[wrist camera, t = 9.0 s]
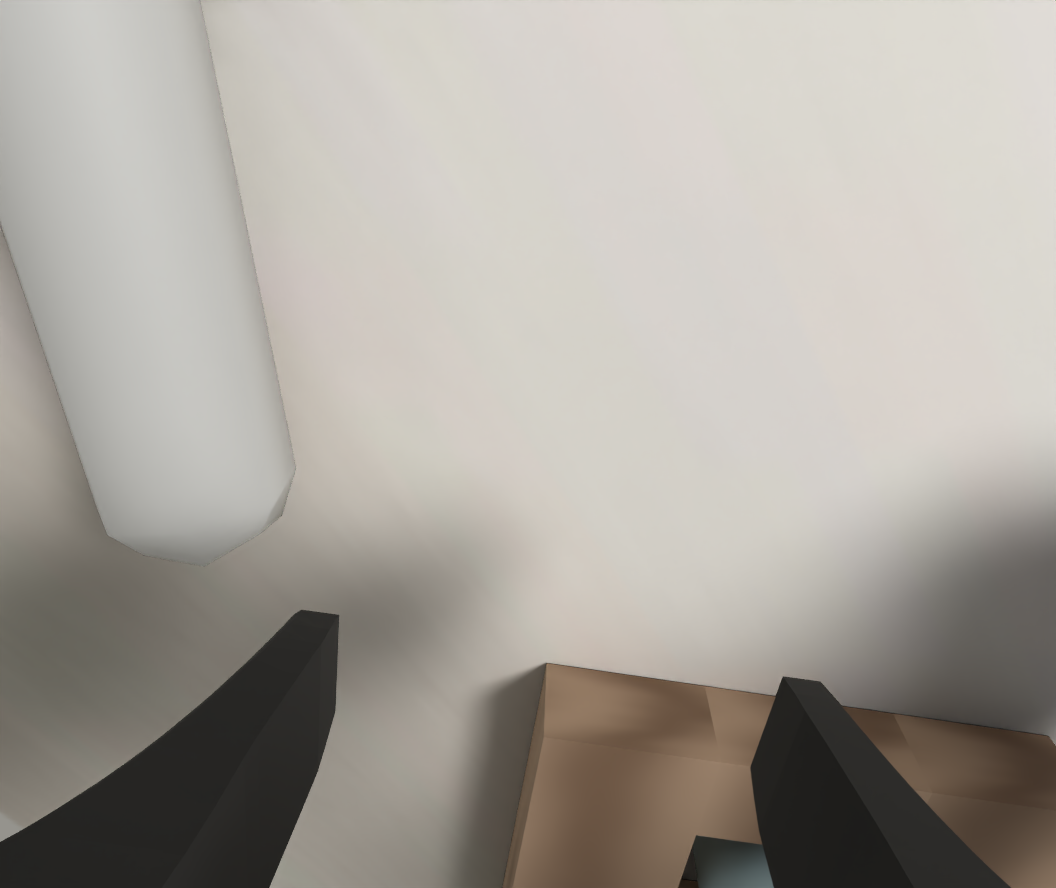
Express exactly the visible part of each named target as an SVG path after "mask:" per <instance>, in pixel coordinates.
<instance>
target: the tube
mask: <svg viewBox="0 0 1056 888" xmlns="http://www.w3.org/2000/svg"><path fill="white" fill-rule="evenodd" d="M0 225H1V228H2V231H3V234H4V237H5V240H6V243H7V246H8V249H9V251H10V254H11V257H12V260H13V263H14V266H15V269H16V272H17V275H18V278H19V281H20V284H21V287H22V290H23V293H24V296H25V299H26V302H27V305H28V307H29V310H30V313H31V316H32V319H33V322H34V325H35V328H36V331H37V334H38V337H39V340H40V343H41V346H42V349H43V352H44V355H45V358H46V361H47V363H48V366H49V369H50V372H51V375H52V378H53V381H54V384H55V387H56V390H57V393H58V396H59V399H60V402H61V405H62V408H63V411H64V414H65V417H66V420H67V422H68V425H69V428H70V431H71V434H72V437H73V440H74V443H75V446H76V449H77V452H78V455H79V458H80V461H81V464H82V467H83V470H84V473H85V476H86V478H87V481H88V484H89V487H90V490H91V493H92V496H93V499H94V502H95V505H96V507H97V510H98V512H99V515H100V517H101V520H102V523H103V525H104V528H105V530H106V533H107V535H108V536H110V537H112V538H114V539H115V540H117V541H119V542H121V543H122V544H124V545H126V546H128V547H130V548H131V549H133V550H135V551H137V552H139V553H140V554H142V555H144V556H149V557H155V558H160V559H166V560H171V561H177V562H182V563H188V564H193V565H199V566H204V567H205V566H206V565H208V564H210V563H211V562H213V561H215V560H216V559H218V558H220V557H222V556H223V555H225V554H227V553H228V552H230V551H232V550H233V549H235V548H237V547H238V546H240V545H242V544H244V543H245V542H247V541H249V540H250V539H252V538H254V537H255V536H257V535H259V534H260V533H262V532H263V531H264V530H265V529H266V528H268V527H269V526H270V525H271V524H272V523H273V522H275V521H276V520H277V519H278V518H279V517H281V516H282V513H283V510H284V507H285V503H286V500H287V497H288V493H289V490H290V487H291V484H292V480H293V477H294V474H295V470H296V464H295V460H294V455H293V450H292V445H291V440H290V435H289V430H288V425H287V420H286V416H285V411H284V406H283V401H282V396H281V391H280V386H279V381H278V377H277V372H276V367H275V362H274V357H273V352H272V347H271V342H270V337H269V333H268V328H267V323H266V318H265V313H264V308H263V303H262V298H261V294H260V289H259V284H258V279H257V274H256V269H255V264H254V259H253V254H252V250H251V245H250V240H249V235H248V230H247V225H246V220H245V215H244V211H243V206H242V201H241V196H240V191H239V186H238V181H237V176H236V171H235V167H234V162H233V157H232V152H231V147H230V142H229V137H228V132H227V128H226V123H225V118H224V113H223V108H222V103H221V98H220V93H219V88H218V84H217V79H216V74H215V69H214V64H213V59H212V54H211V49H210V45H209V40H208V35H207V30H206V25H205V20H204V15H203V10H202V5H201V1H200V0H0Z"/></svg>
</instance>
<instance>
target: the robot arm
mask: <svg viewBox="0 0 1056 888" xmlns="http://www.w3.org/2000/svg"><path fill="white" fill-rule="evenodd" d="M338 629H339V615H335V614H328V613H321V612H313V611H306V610H300V611H299V612H297V613H296V614H294V615H293V616H292V617H291V618H290V619H289V620H288V622H287V623H286V624H285V625H284V626H283V627H282V628H281V629H280V630H279V631H278V632H277V633H276V634H275V635H274V636H273V637H272V638H271V639H270V640H269V641H268V642H267V643H266V644H265V645H264V646H263V647H262V648H261V649H260V650H259V651H258V652H257V653H256V654H255V655H254V656H253V657H252V658H251V659H250V660H249V661H248V662H247V663H246V664H244V665H243V666H242V667H241V668H240V669H239V670H238V671H237V672H236V673H235V674H234V675H233V676H231V677H230V678H229V679H228V680H227V681H226V682H225V683H224V684H223V685H222V686H220V687H219V688H218V689H217V690H216V691H215V692H214V693H213V694H212V695H211V696H209V697H208V698H207V699H206V700H205V701H204V702H203V703H201V704H200V705H199V706H198V707H197V708H195V709H194V710H193V711H192V712H190V713H189V714H188V715H187V716H186V717H184V718H183V719H182V720H181V721H180V722H178V723H177V724H176V725H175V726H174V727H172V728H171V729H170V730H169V731H167V732H166V733H165V734H164V735H163V736H161V737H160V738H159V739H157V740H156V741H155V742H153V743H152V744H151V745H150V746H148V747H147V748H146V749H144V750H143V751H142V752H140V753H139V754H138V755H136V756H135V757H134V758H132V759H131V760H129V761H128V762H127V763H125V764H124V765H122V766H121V767H120V768H118V769H117V770H115V771H114V772H112V773H111V774H110V775H108V776H107V777H105V778H104V779H102V780H101V781H99V782H98V783H97V784H95V785H93V786H92V787H90V788H89V789H87V790H86V791H84V792H83V793H81V794H79V795H78V796H76V797H75V798H73V799H72V800H70V801H69V802H67V803H66V804H64V805H62V806H61V807H59V808H58V809H56V810H55V811H53V812H51V813H50V814H48V815H46V816H45V817H43V818H42V819H40V820H38V821H37V822H35V823H33V824H32V825H30V826H28V827H26V828H25V829H23V830H21V831H20V832H18V833H16V834H14V835H12V836H10V837H9V838H7V839H5V840H3V841H1V842H0V888H269V887H270V884H271V882H272V880H273V877H274V875H275V873H276V870H277V868H278V865H279V863H280V861H281V858H282V856H283V854H284V851H285V849H286V846H287V844H288V842H289V839H290V837H291V835H292V832H293V830H294V827H295V825H296V823H297V820H298V818H299V815H300V813H301V811H302V808H303V806H304V803H305V801H306V799H307V796H308V794H309V791H310V789H311V786H312V784H313V782H314V779H315V777H316V774H317V772H318V769H319V765H320V762H321V759H322V755H323V752H324V749H325V745H326V742H327V738H328V735H329V731H330V728H331V724H332V721H333V717H334V714H335V706H336V680H337V654H338ZM750 771H751V778H752V786H753V794H754V802H755V809H756V815H757V822H758V828H759V833H760V837H761V841H762V845H763V849H764V853H765V856H766V860H767V864H768V868H769V872H770V875H771V879H772V883H773V887H774V888H1011V887H1010V886H1009V885H1008V884H1007V883H1006V882H1005V881H1003V880H1002V879H1001V878H1000V877H999V876H998V875H997V874H996V873H995V872H994V871H992V870H991V869H990V868H989V867H988V866H987V865H986V864H985V863H984V862H983V861H982V860H981V859H980V858H979V857H978V856H977V855H976V854H975V853H974V852H973V851H972V850H971V849H970V848H969V847H968V846H967V845H966V844H965V843H964V842H963V841H962V840H961V839H960V838H959V837H958V836H957V835H956V834H955V833H954V832H953V831H952V830H951V829H950V828H949V827H948V826H947V824H946V823H945V822H944V821H943V820H942V819H941V818H940V817H939V816H938V815H937V814H936V813H935V812H934V811H933V810H932V809H931V808H930V807H929V806H928V804H927V803H926V802H925V801H924V800H923V799H922V798H921V797H920V796H919V795H918V794H917V793H916V791H915V790H914V789H913V788H912V787H911V786H910V785H909V784H908V783H907V781H906V780H905V779H904V778H903V777H902V776H901V775H900V774H899V772H898V771H897V770H896V769H895V768H894V767H893V766H892V764H891V763H890V762H889V761H888V760H887V759H886V758H885V756H884V755H883V754H882V753H881V752H880V751H879V749H878V748H877V747H876V746H875V745H874V744H873V742H872V741H871V740H870V739H869V738H868V737H867V735H866V734H865V733H864V732H863V731H862V730H861V728H860V727H859V726H858V725H857V724H856V722H855V721H854V720H853V719H852V718H851V716H850V715H849V714H848V713H847V712H846V711H845V709H844V708H843V707H842V706H841V705H840V704H839V702H838V701H837V700H836V699H835V698H834V697H833V695H832V694H831V693H830V692H829V691H828V690H827V689H826V687H825V686H824V685H823V684H822V683H821V682H819V681H812V680H805V679H798V678H790V677H783V678H782V680H781V683H780V686H779V689H778V691H777V694H776V697H775V700H774V703H773V705H772V708H771V711H770V714H769V716H768V719H767V722H766V725H765V727H764V730H763V733H762V736H761V739H760V741H759V744H758V747H757V750H756V752H755V755H754V758H753V761H752V764H751V766H750Z"/></svg>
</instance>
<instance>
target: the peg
mask: <svg viewBox="0 0 1056 888" xmlns="http://www.w3.org/2000/svg"><path fill="white" fill-rule="evenodd" d="M693 853H694V859H695V866H696V872H697V879H698V886H699V888H774V887H773V883H772V879H771V875H770V872H769V868H768V864H767V860H766V856H765V853H764V849H763V845H761V844H754V843H747V842H740V841H733V840H726V839H719V838H712V837H705V836H698V835H696V837H695V840H694V843H693Z"/></svg>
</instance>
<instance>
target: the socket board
mask: <svg viewBox="0 0 1056 888" xmlns="http://www.w3.org/2000/svg"><path fill="white" fill-rule="evenodd" d="M775 697H776V696H769V695H762V694H755V693H748V692H741V691H734V690H727V689H720V688H714V687H707V686H700V685H693V684H686V683H679V682H672V681H665V680H658V679H652V678H645V677H638V676H631V675H624V674H617V673H610V672H603V671H596V670H590V669H583V668H576V667H569V666H562V665H555V664H548V663H547V664H546V669H545V674H544V679H543V685H542V690H541V695H540V700H539V705H538V710H537V715H536V720H535V725H534V730H533V735H532V740H531V745H530V750H529V755H528V760H527V765H526V770H525V776H524V781H523V786H522V791H521V796H520V801H519V806H518V811H517V816H516V821H515V826H514V831H513V836H512V841H511V846H510V851H509V856H508V861H507V867H506V872H505V877H504V882H503V887H502V888H699V886H698V882H697V881H690V880H683V879H681V877H682V874H683V872H684V869H685V866H686V863H687V860H688V857H689V854H690V851H691V849H692V846H693V843H694V840H695V837H696V835H698V836H705V837H712V838H719V839H726V840H733V841H740V842H747V843H754V844H761V845H762V841H761V837H760V833H759V828H758V822H757V815H756V809H755V802H754V794H753V786H752V778H751V771H750V766H751V764H752V761H753V758H754V755H755V752H756V750H757V747H758V744H759V741H760V739H761V736H762V733H763V730H764V727H765V725H766V722H767V719H768V716H769V714H770V711H771V708H772V705H773V703H774V700H775ZM842 707H843V708H844V709H845V711H846V712H847V713H848V714H849V715H850V716H851V718H852V719H853V720H854V721H855V722H856V724H857V725H858V726H859V727H860V728H861V730H862V731H863V732H864V733H865V734H866V735H867V737H868V738H869V739H870V740H871V741H872V742H873V744H874V745H875V746H876V747H877V748H878V749H879V751H880V752H881V753H882V754H883V755H884V756H885V758H886V759H887V760H888V761H889V762H890V763H891V764H892V766H893V767H894V768H895V769H896V770H897V771H898V772H899V774H900V775H901V776H902V777H903V778H904V779H905V780H906V781H907V783H908V784H909V785H910V786H911V787H912V788H913V789H914V790H915V791H916V793H917V794H918V795H919V796H920V797H921V798H922V799H923V800H924V801H925V802H926V803H927V804H928V806H929V807H930V808H931V809H932V810H933V811H934V812H935V813H936V814H937V815H938V816H939V817H940V818H941V819H942V820H943V821H944V822H945V823H946V824H947V826H948V827H949V828H950V829H951V830H952V831H953V832H954V833H955V834H956V835H957V836H958V837H959V838H960V839H961V840H962V841H963V842H964V843H965V844H966V845H967V846H968V847H969V848H970V849H971V850H972V851H973V852H974V853H975V854H976V855H977V856H978V857H979V858H980V859H981V860H982V861H983V862H984V863H985V864H986V865H987V866H988V867H989V868H990V869H991V870H992V871H994V872H995V873H996V874H997V875H998V876H999V877H1000V878H1001V879H1002V880H1003V881H1005V882H1006V883H1007V884H1008V885H1009V886H1010V887H1011V888H1056V746H1055V744H1054V743H1053V742H1052V740H1051V739H1050V737H1049V736H1044V735H1037V734H1030V733H1023V732H1017V731H1010V730H1003V729H996V728H989V727H982V726H975V725H968V724H961V723H955V722H948V721H941V720H934V719H927V718H920V717H913V716H906V715H900V714H893V713H886V712H879V711H872V710H865V709H858V708H851V707H844V706H842Z"/></svg>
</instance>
